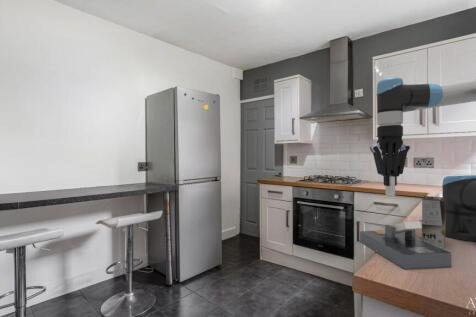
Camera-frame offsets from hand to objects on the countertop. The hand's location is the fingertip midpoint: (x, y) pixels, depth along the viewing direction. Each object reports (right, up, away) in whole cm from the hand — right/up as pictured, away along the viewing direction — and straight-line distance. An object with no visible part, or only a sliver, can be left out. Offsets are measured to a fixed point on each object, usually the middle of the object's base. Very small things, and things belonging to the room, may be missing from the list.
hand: (390, 195), depth 88 cm
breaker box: (0, -18, -5) cm, 18 cm away
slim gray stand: (+10, -18, -3) cm, 21 cm away
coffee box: (+18, -18, +4) cm, 25 cm away
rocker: (0, -10, -5) cm, 11 cm away
